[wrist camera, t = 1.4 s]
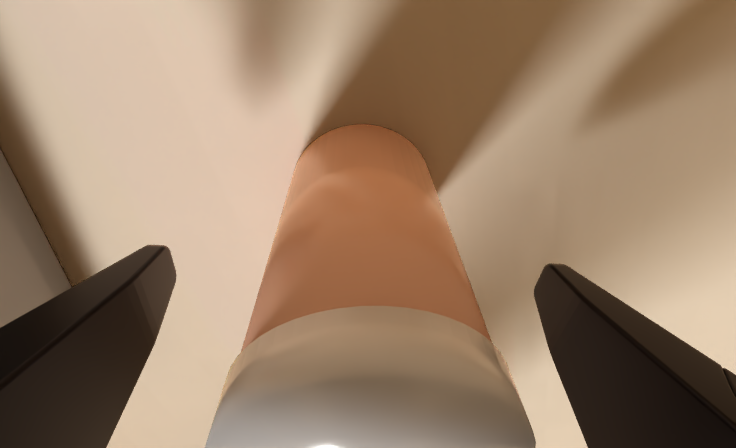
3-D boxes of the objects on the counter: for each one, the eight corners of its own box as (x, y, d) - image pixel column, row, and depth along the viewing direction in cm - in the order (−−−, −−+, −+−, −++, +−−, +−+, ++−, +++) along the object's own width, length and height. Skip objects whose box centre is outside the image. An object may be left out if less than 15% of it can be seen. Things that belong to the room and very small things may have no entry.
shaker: (420, 250, 13) (484, 525, 7) (291, 243, 13) (227, 527, 6) (446, 126, 11) (593, 380, 4) (286, 114, 10) (169, 370, 4)
